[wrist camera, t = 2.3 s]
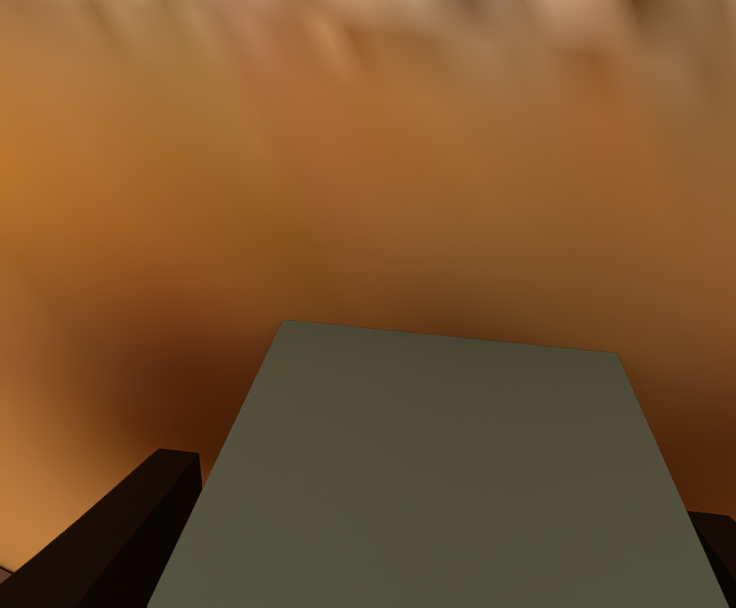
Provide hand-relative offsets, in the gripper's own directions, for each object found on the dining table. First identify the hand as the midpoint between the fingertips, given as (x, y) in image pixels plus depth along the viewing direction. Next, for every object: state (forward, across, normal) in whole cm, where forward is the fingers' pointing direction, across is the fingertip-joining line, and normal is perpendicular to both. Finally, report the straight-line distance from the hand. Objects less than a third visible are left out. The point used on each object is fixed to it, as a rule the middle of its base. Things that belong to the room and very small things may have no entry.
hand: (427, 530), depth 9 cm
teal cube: (+2, 0, 0) cm, 2 cm away
